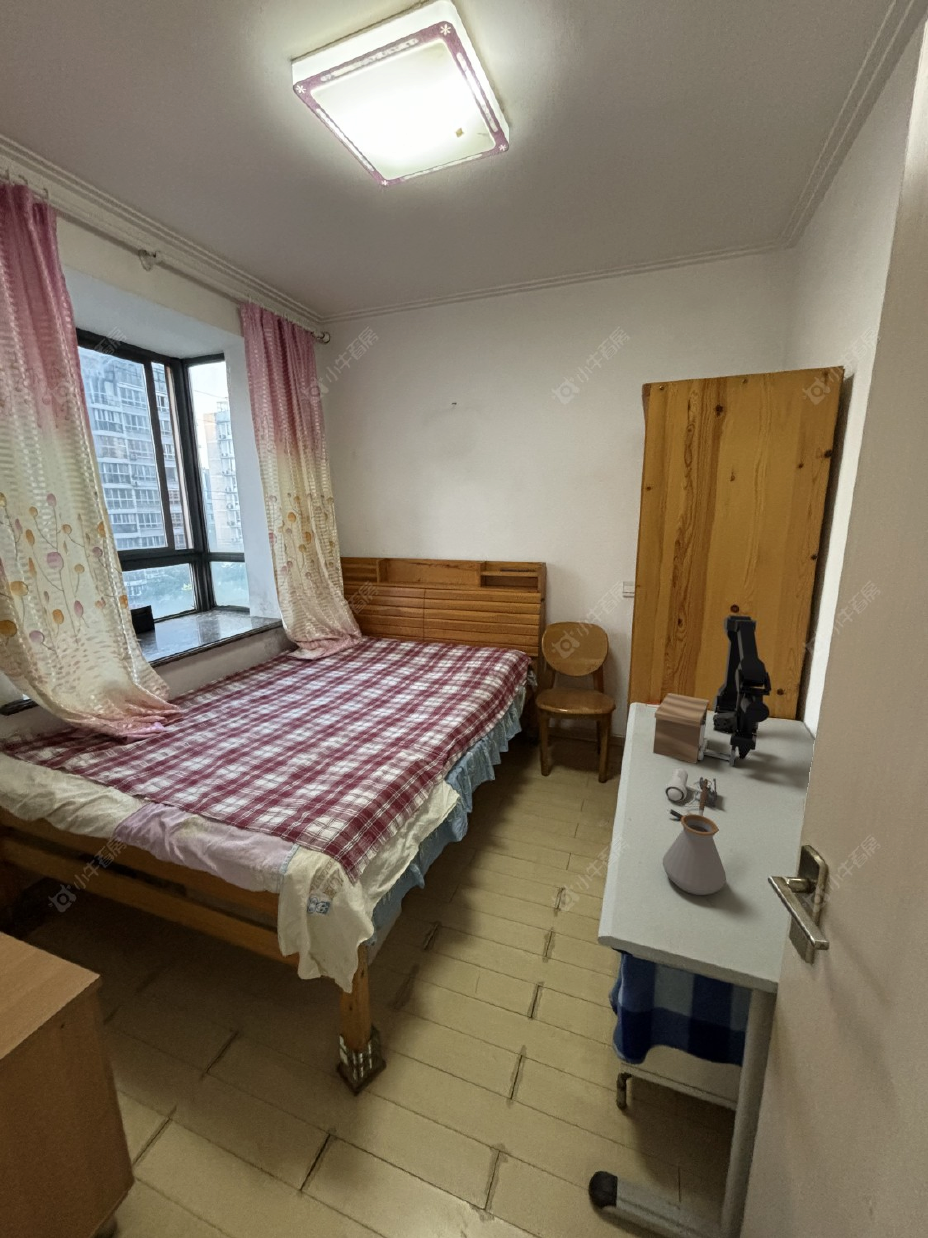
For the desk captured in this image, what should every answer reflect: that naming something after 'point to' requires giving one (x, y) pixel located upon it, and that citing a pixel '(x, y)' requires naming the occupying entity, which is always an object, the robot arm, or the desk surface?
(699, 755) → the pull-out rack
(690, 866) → the coffee pot
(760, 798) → the desk surface
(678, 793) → the clip-on lamp
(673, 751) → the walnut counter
